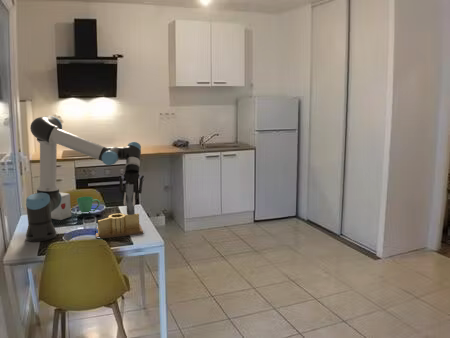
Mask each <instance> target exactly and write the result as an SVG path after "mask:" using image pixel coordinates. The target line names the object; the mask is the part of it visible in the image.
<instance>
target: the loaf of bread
mask: <svg viewBox="0 0 450 338" xmlns="http://www.w3.org/2000/svg"><path fill="white" fill-rule="evenodd" d="M96 228H97V229H98V233H96V234H95V238H96V237H100V238H101V239H108V238H116V237H117V238H119V237H125V236H133V235H134V236H136V235H142V234H144V230H143V228H142V226H141V224H140V213H135V214H133V215H127V214H124V213H120V212H119V213H112V214H109V215H108V216H107V217H106V218H103V219H99V220H97V227H96Z"/></svg>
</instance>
